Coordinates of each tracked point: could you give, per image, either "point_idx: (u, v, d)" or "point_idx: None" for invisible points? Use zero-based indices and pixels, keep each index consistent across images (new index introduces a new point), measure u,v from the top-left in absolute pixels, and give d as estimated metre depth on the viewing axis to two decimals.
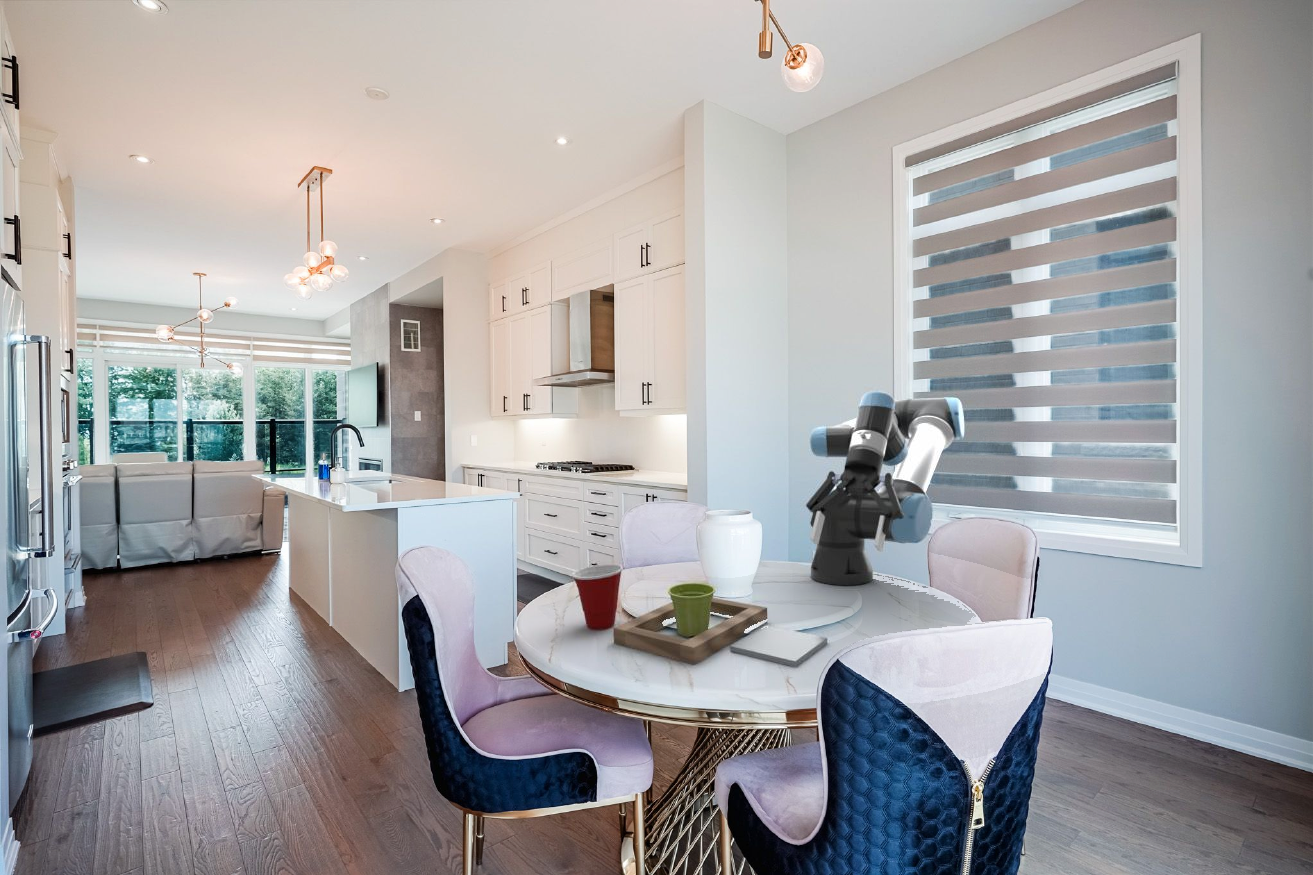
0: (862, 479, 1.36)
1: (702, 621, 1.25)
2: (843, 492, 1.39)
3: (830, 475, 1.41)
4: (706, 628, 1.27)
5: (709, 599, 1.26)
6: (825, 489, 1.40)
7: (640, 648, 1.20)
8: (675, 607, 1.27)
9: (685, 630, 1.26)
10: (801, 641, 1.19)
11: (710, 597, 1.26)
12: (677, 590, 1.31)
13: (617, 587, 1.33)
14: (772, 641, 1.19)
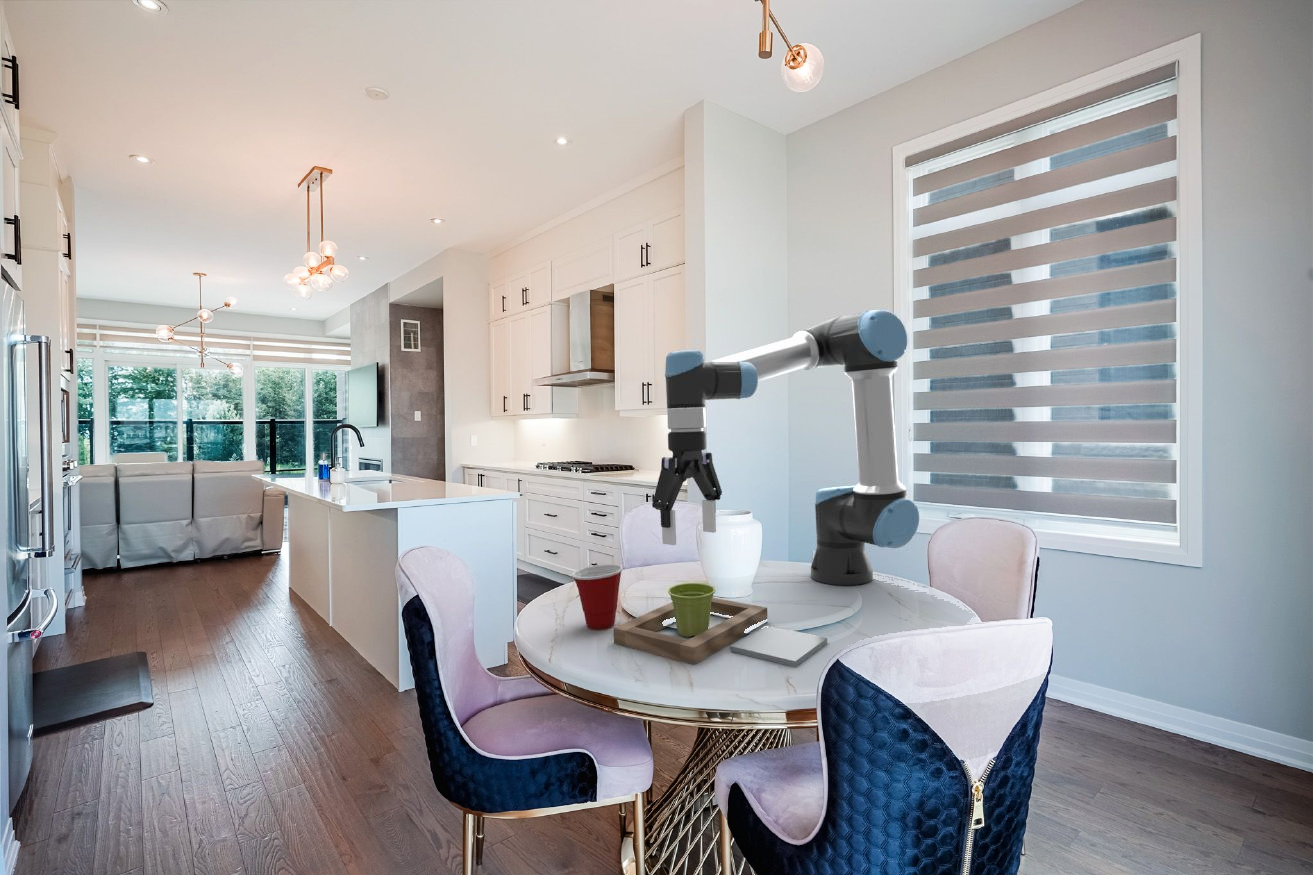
0: None
1: (702, 621, 1.25)
2: (696, 476, 1.29)
3: None
4: (706, 628, 1.27)
5: (709, 599, 1.26)
6: None
7: (640, 648, 1.20)
8: (675, 607, 1.27)
9: (685, 630, 1.26)
10: (801, 641, 1.19)
11: (710, 597, 1.26)
12: (677, 590, 1.31)
13: (617, 587, 1.33)
14: (772, 641, 1.19)
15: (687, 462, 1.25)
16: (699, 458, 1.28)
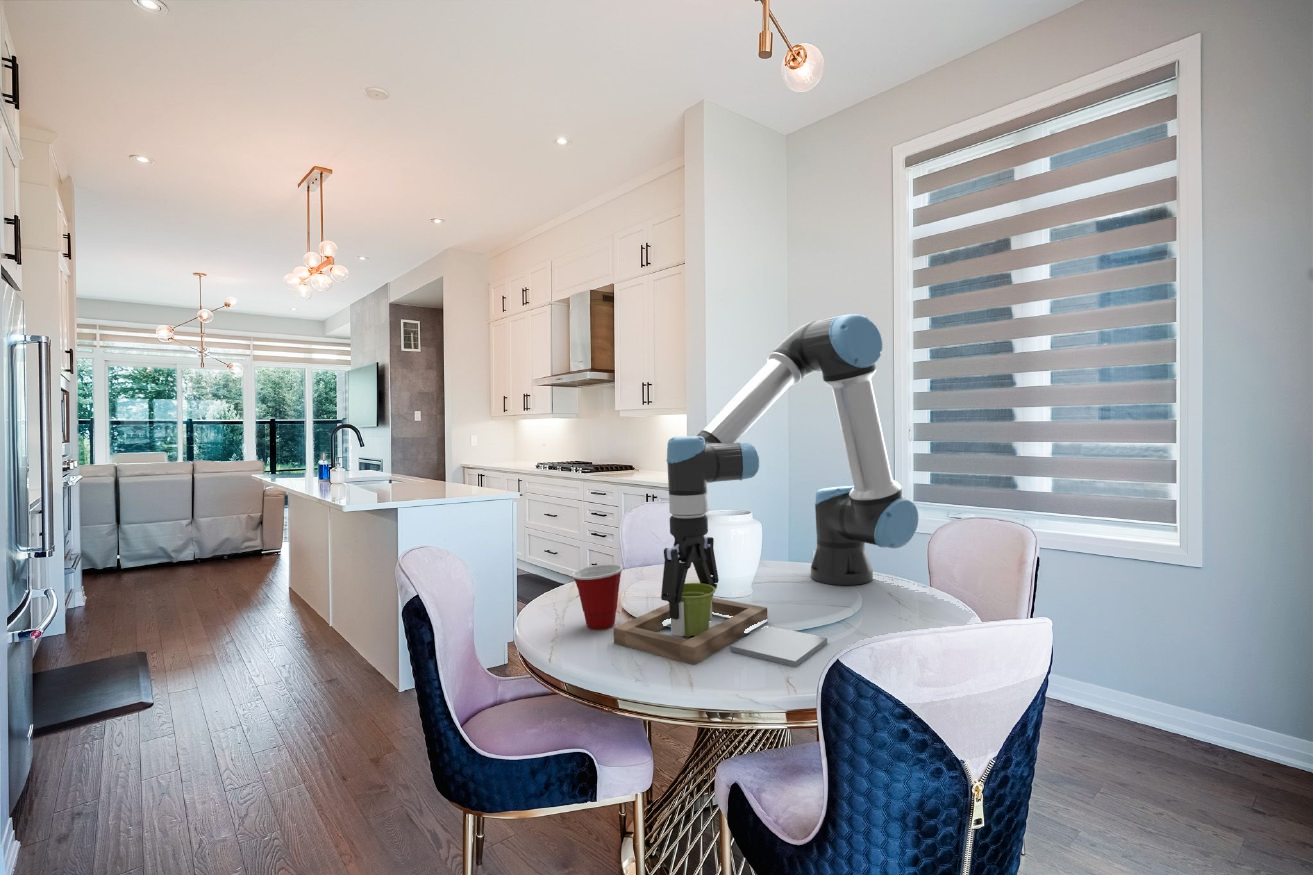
0: None
1: (702, 621, 1.26)
2: (696, 560, 1.30)
3: None
4: (706, 628, 1.27)
5: (709, 599, 1.26)
6: None
7: (640, 648, 1.20)
8: None
9: (685, 630, 1.26)
10: (801, 641, 1.19)
11: (710, 597, 1.26)
12: None
13: (617, 587, 1.33)
14: (772, 641, 1.19)
15: (689, 548, 1.25)
16: (701, 540, 1.29)
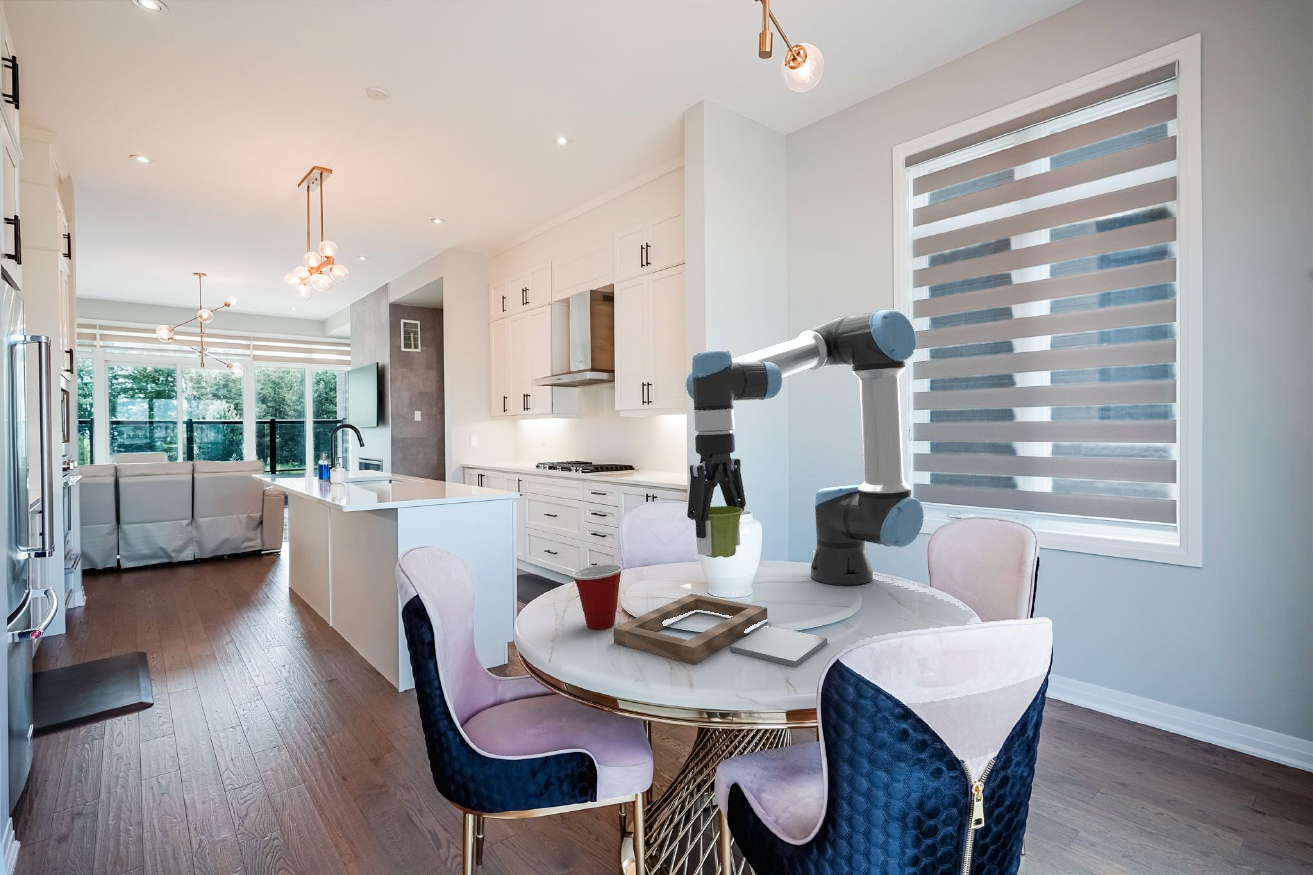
0: None
1: (729, 541, 1.21)
2: (722, 481, 1.25)
3: None
4: (733, 549, 1.23)
5: (736, 518, 1.22)
6: None
7: (640, 648, 1.20)
8: None
9: (712, 551, 1.22)
10: (801, 641, 1.19)
11: (737, 517, 1.22)
12: None
13: (617, 587, 1.33)
14: (772, 641, 1.19)
15: (715, 466, 1.21)
16: (727, 460, 1.25)
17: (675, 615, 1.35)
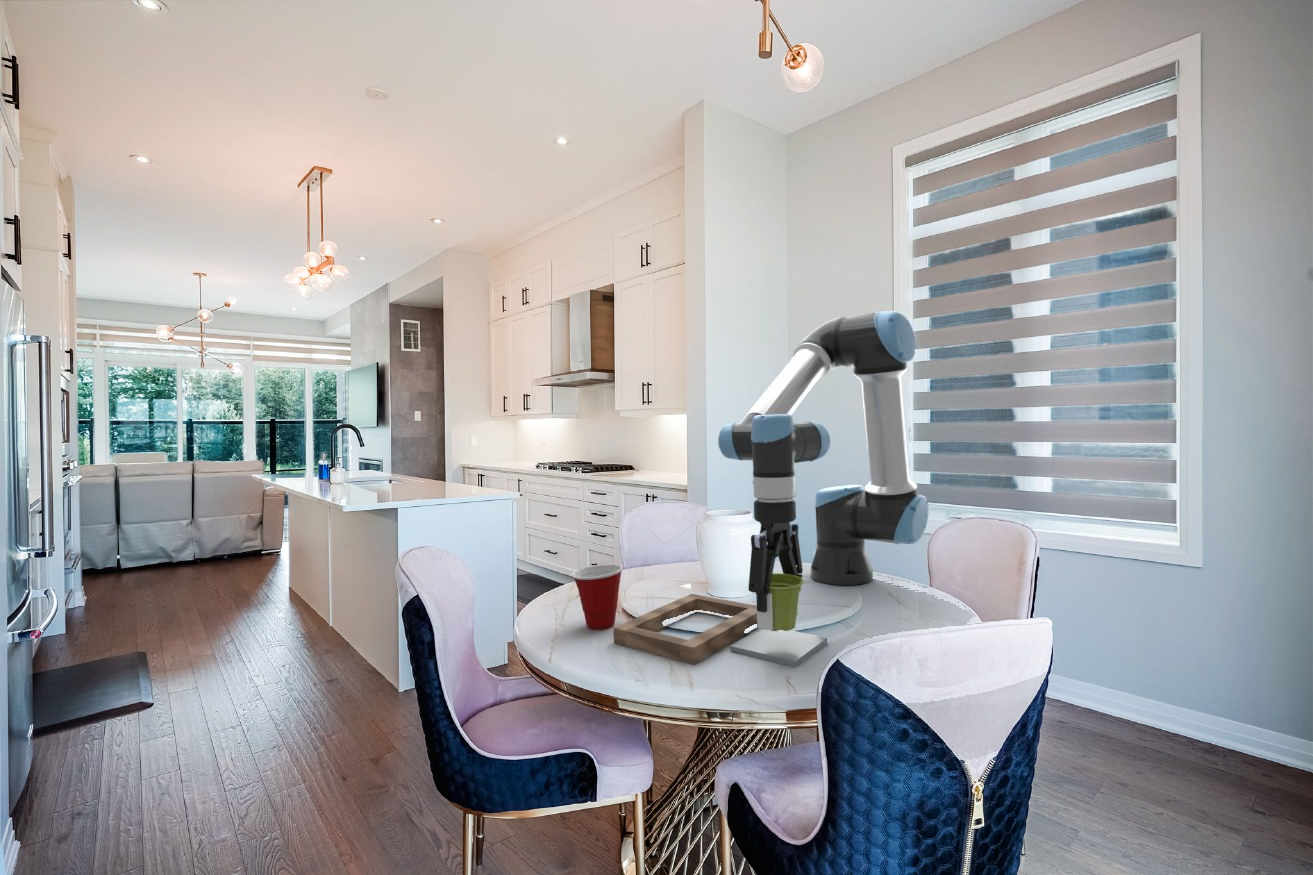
0: None
1: (790, 614, 1.16)
2: (781, 549, 1.20)
3: None
4: (794, 622, 1.17)
5: (798, 590, 1.16)
6: None
7: (640, 648, 1.20)
8: None
9: None
10: (801, 641, 1.19)
11: (799, 588, 1.16)
12: None
13: (617, 587, 1.33)
14: (772, 641, 1.19)
15: (776, 535, 1.15)
16: (787, 527, 1.19)
17: (675, 615, 1.35)
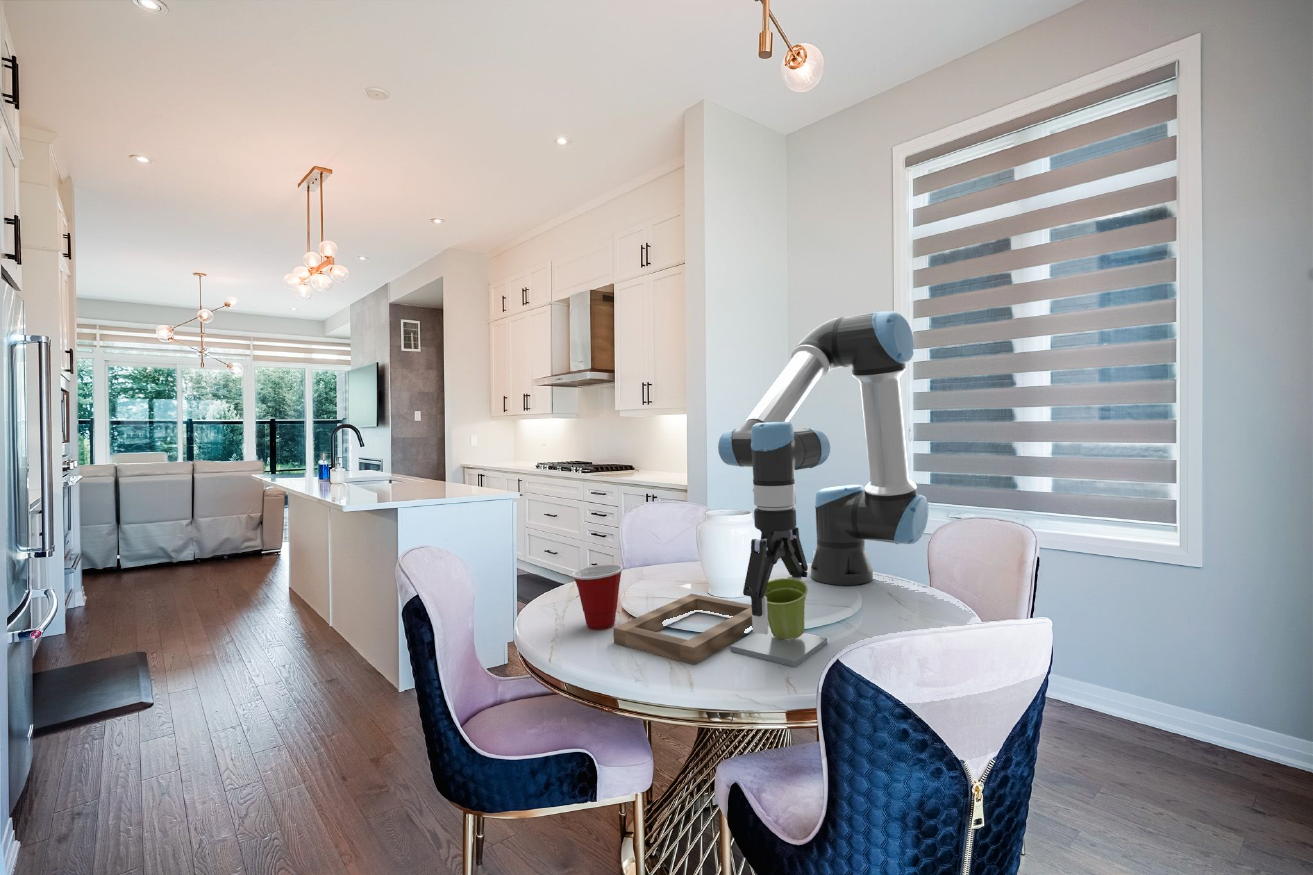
0: None
1: (798, 622, 1.18)
2: None
3: None
4: (803, 628, 1.20)
5: (803, 600, 1.18)
6: None
7: (640, 648, 1.20)
8: (768, 612, 1.19)
9: (782, 634, 1.19)
10: (801, 641, 1.19)
11: (804, 598, 1.18)
12: None
13: (617, 587, 1.33)
14: (772, 641, 1.19)
15: (777, 542, 1.16)
16: (787, 535, 1.19)
17: (675, 615, 1.35)
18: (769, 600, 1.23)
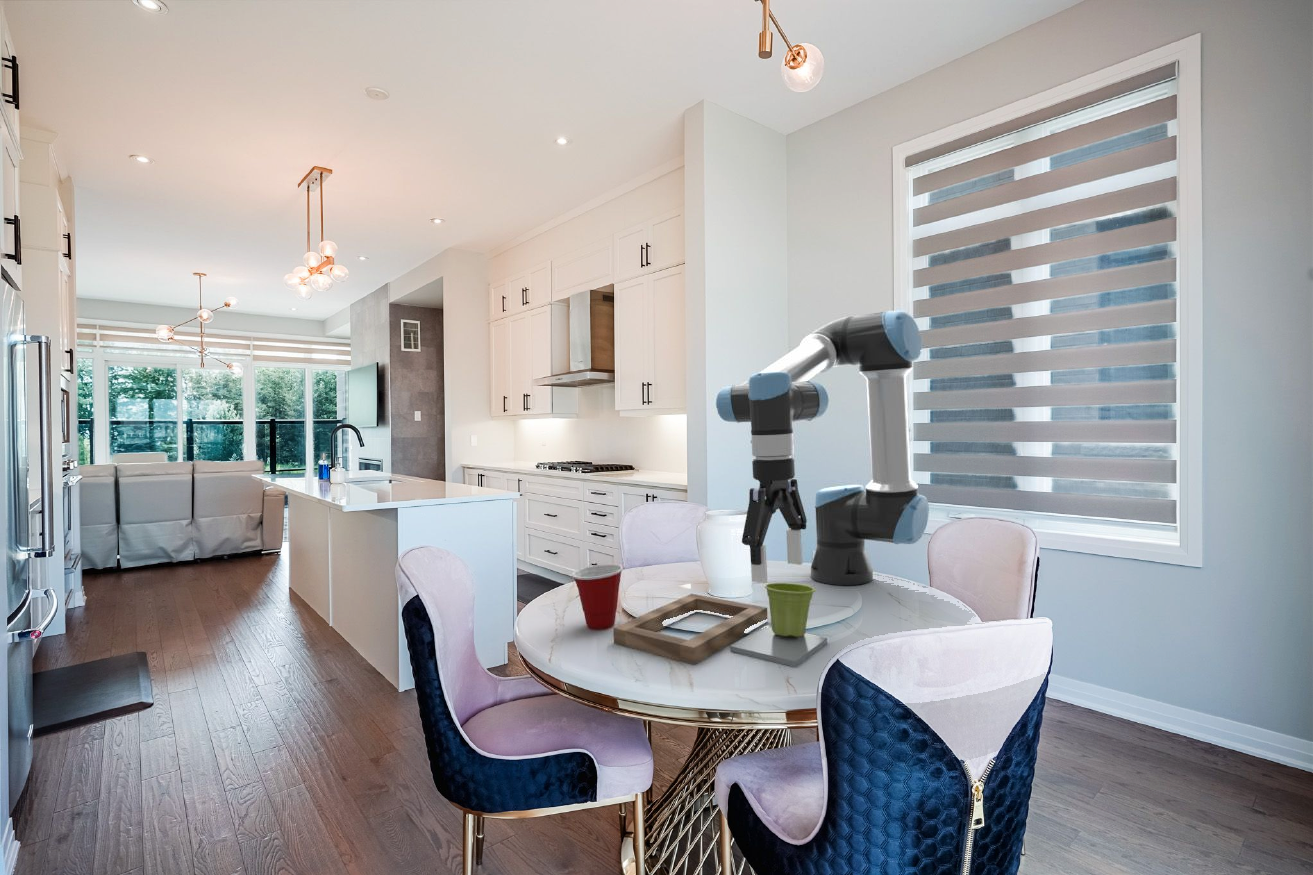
0: None
1: (801, 620, 1.19)
2: None
3: None
4: (804, 629, 1.20)
5: (810, 597, 1.20)
6: None
7: (640, 648, 1.20)
8: (773, 603, 1.21)
9: (783, 629, 1.19)
10: (801, 641, 1.19)
11: (811, 595, 1.20)
12: (772, 588, 1.26)
13: (617, 587, 1.33)
14: (772, 641, 1.19)
15: (775, 492, 1.15)
16: (786, 486, 1.19)
17: (675, 615, 1.35)
18: None
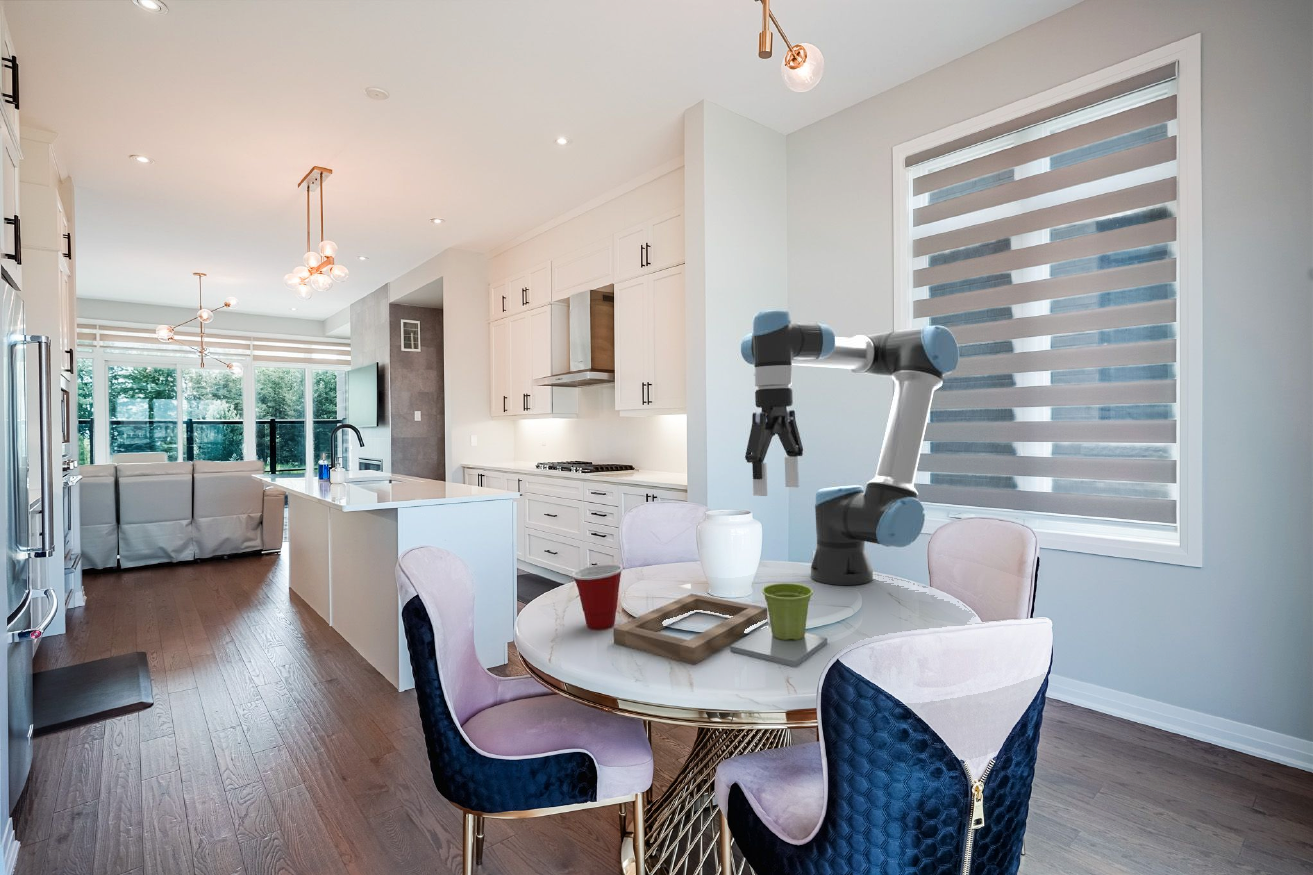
0: None
1: (800, 623, 1.19)
2: (781, 432, 1.35)
3: None
4: (804, 631, 1.20)
5: (808, 600, 1.19)
6: None
7: (640, 648, 1.20)
8: (771, 609, 1.20)
9: (783, 633, 1.19)
10: (801, 641, 1.19)
11: (809, 598, 1.19)
12: (770, 590, 1.25)
13: (617, 587, 1.33)
14: (772, 641, 1.19)
15: (775, 418, 1.30)
16: (784, 415, 1.33)
17: (675, 615, 1.35)
18: None
